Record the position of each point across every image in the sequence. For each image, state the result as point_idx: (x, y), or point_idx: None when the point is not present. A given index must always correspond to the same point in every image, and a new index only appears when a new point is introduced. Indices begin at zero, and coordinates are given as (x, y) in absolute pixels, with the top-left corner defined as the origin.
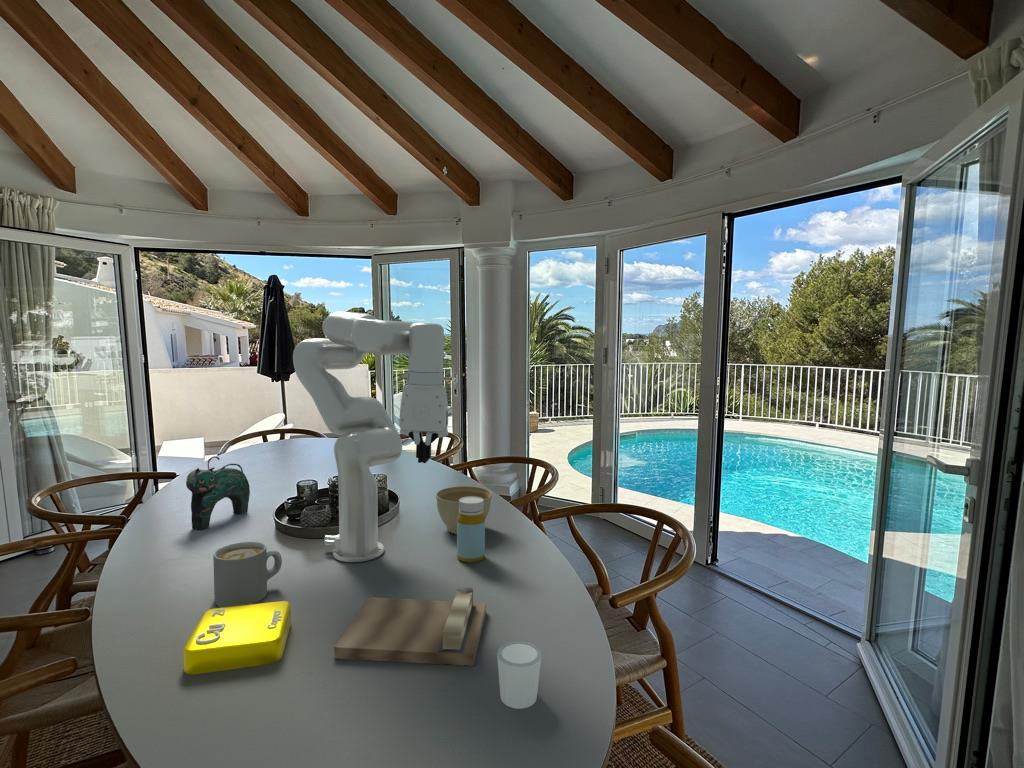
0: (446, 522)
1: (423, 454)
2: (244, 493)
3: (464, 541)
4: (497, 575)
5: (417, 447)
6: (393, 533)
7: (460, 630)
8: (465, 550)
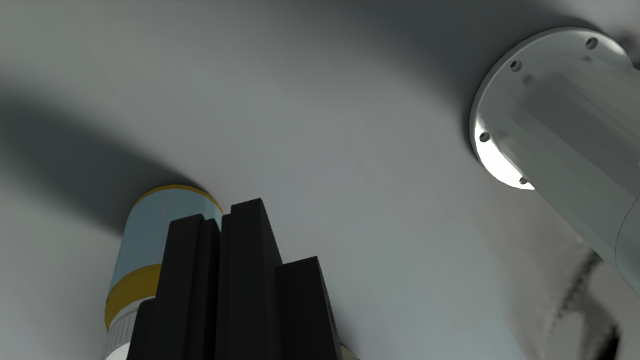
0: (348, 357)
1: (182, 278)
2: None
3: (170, 221)
4: (12, 141)
5: (313, 355)
6: (503, 274)
7: None
8: (168, 203)
